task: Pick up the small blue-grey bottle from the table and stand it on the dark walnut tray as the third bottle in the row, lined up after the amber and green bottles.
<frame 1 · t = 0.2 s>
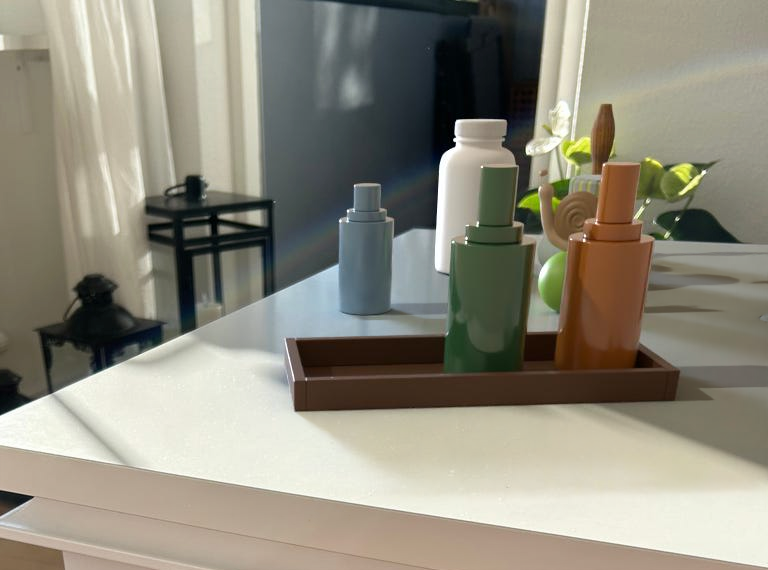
amber bottle: (592, 377, 73), resting on tray
wooden snail ornament: (586, 282, 108), on the table
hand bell: (588, 257, 121), on the table
green bottle: (481, 380, 73), resting on tray
blue bottle: (364, 309, 97), on the table
pill bottle: (469, 272, 114), on the table
snail figurine: (559, 313, 96), on the table
tray: (467, 392, 73), on the table
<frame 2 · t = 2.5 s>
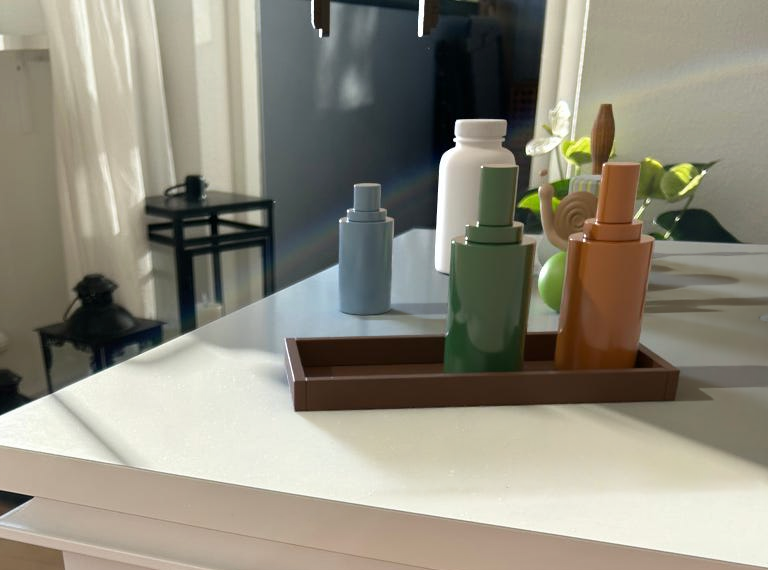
hand: (374, 36, 87), 22 cm above the table, tool pointing down, fingers open, 8 cm apart
nothing on the table moved.
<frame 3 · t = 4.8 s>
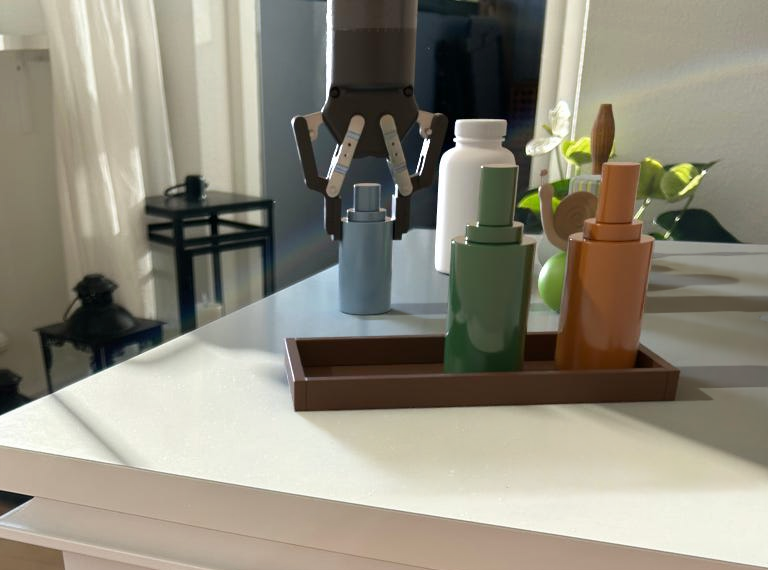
hand: (366, 238, 94), 6 cm above the table, tool pointing down, fingers closed on blue bottle, 5 cm apart
blue bottle: (364, 309, 97), on the table, touching gripper
everything else where it was.
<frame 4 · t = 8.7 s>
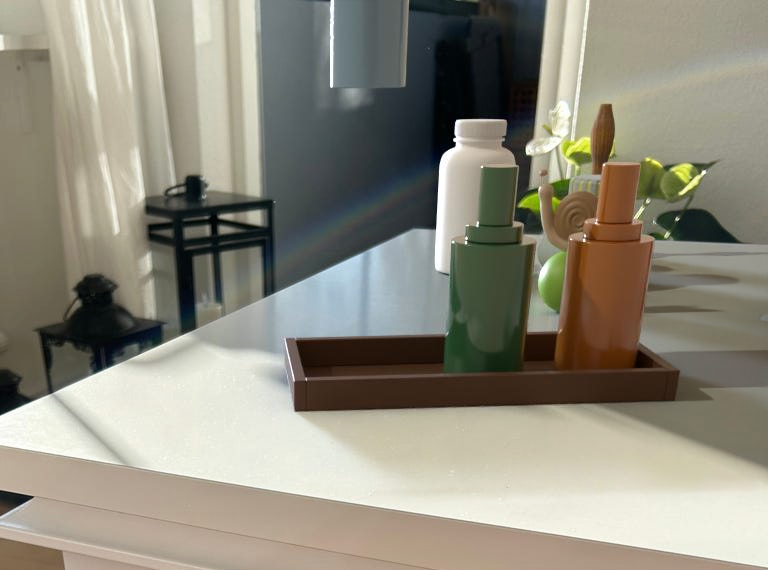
blue bottle: (367, 87, 68), point 19 cm above the table, touching gripper
everything else where it was.
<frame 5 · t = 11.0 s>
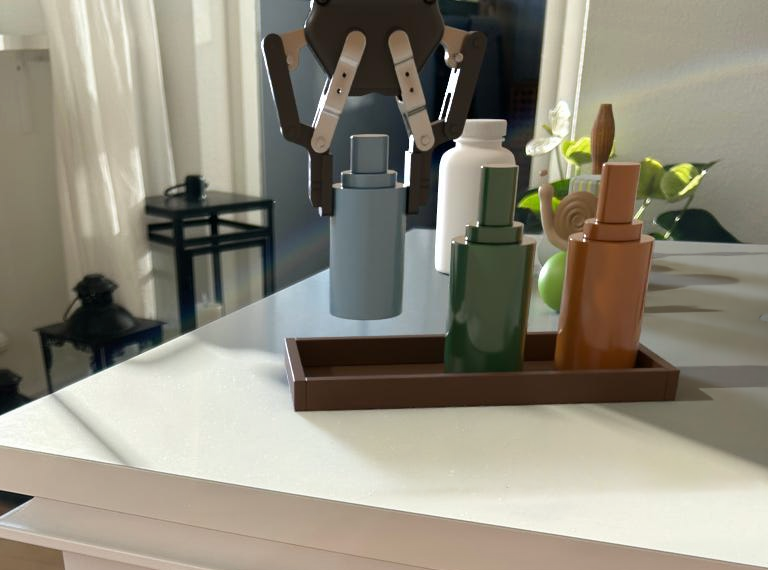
hand: (368, 213, 67), 12 cm above the table, tool pointing down, fingers closed on blue bottle, 5 cm apart
blue bottle: (365, 312, 70), point 6 cm above the table, touching gripper
everything else where it was.
when the fingers open (7 cm above the table, at t = 12.9 s): blue bottle stays where it is, resting on tray.
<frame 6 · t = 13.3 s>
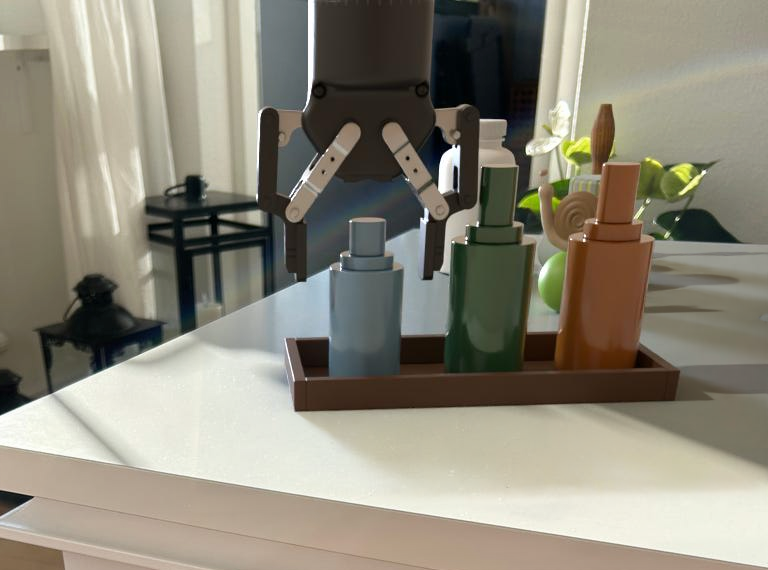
hand: (363, 279, 69), 8 cm above the table, tool pointing down, fingers open, 8 cm apart
blue bottle: (363, 384, 73), point 1 cm above the table, touching tray
everything else where it was.
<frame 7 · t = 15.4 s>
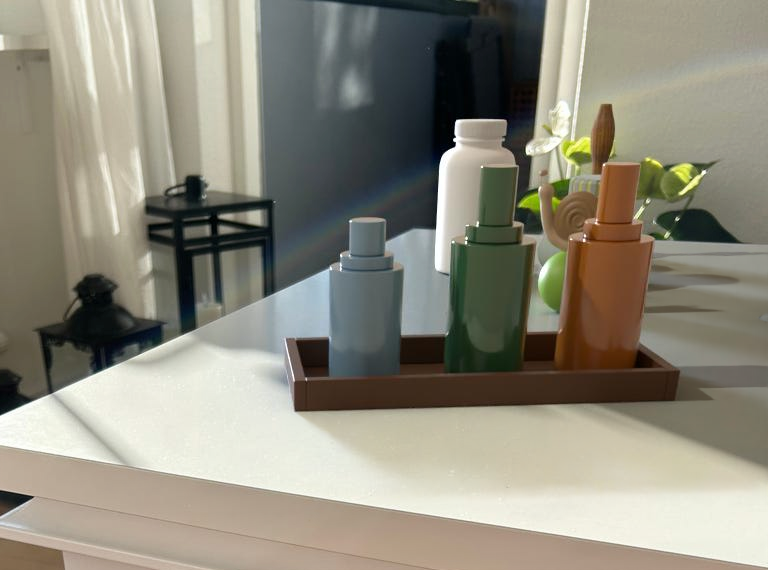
nothing on the table moved.
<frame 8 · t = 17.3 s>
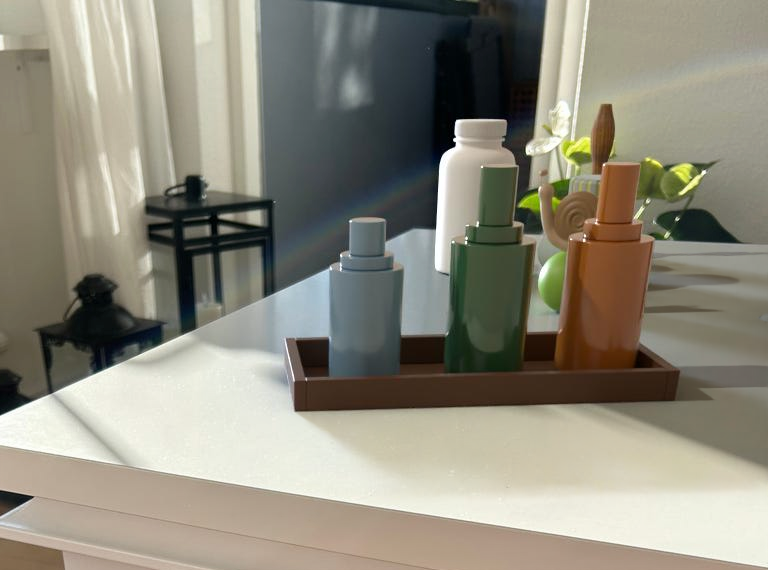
nothing on the table moved.
at the end: blue bottle 0.0 cm from the target spot in the tray, point 0.8 cm above the tray's base; blue bottle tilted 0°; the gripper is holding nothing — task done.
